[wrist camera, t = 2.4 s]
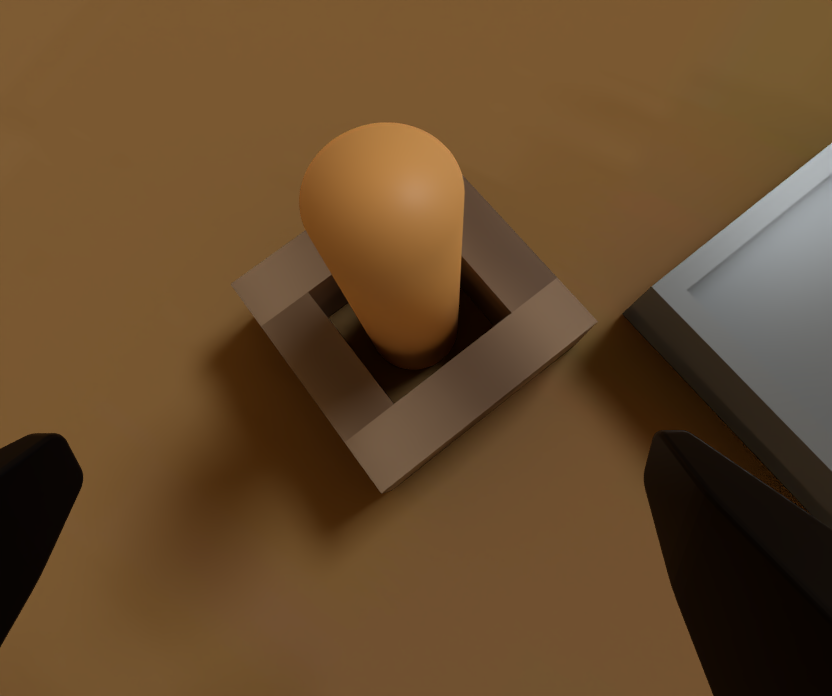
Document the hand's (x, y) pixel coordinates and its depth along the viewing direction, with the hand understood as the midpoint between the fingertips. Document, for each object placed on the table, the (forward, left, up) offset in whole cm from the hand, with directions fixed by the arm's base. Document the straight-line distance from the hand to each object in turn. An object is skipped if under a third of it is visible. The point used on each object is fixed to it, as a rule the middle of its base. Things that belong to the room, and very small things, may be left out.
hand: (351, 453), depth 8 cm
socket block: (+3, +4, -12) cm, 13 cm away
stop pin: (+3, +4, -12) cm, 13 cm away
